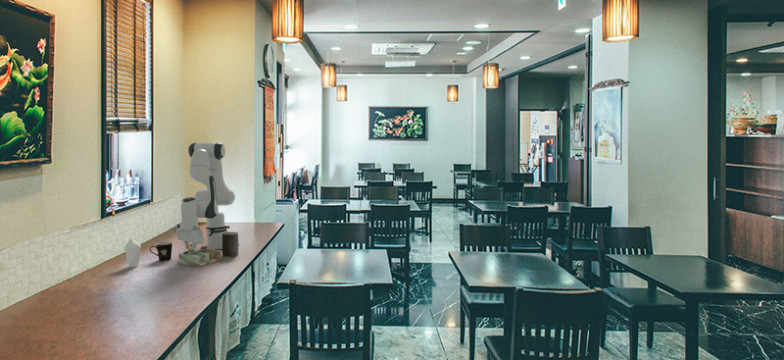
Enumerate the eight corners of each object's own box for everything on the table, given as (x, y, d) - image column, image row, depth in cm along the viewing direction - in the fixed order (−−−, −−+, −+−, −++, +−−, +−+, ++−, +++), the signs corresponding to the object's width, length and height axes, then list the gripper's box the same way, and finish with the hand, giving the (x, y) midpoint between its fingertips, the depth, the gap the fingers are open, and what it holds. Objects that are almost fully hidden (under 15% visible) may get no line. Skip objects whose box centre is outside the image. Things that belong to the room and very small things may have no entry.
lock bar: (204, 248, 280) (204, 240, 280) (208, 249, 279) (208, 241, 278) (187, 253, 270) (186, 244, 269) (191, 254, 268) (190, 245, 268)
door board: (204, 256, 286) (204, 245, 285) (221, 260, 277) (221, 249, 277) (179, 262, 271) (178, 251, 271) (196, 266, 263) (196, 255, 262)
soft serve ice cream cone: (145, 265, 265) (144, 237, 263) (132, 269, 257) (131, 240, 256) (134, 263, 268) (132, 236, 266) (121, 267, 260) (120, 239, 258)
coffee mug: (175, 258, 281) (175, 241, 280) (167, 261, 272) (167, 245, 271) (157, 257, 282) (157, 241, 281) (149, 261, 274) (148, 244, 273)
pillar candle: (223, 257, 284) (223, 233, 282) (221, 253, 292) (220, 230, 291) (239, 255, 288) (239, 232, 287) (237, 252, 297) (237, 229, 295)
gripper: (206, 226, 266) (206, 250, 268) (183, 223, 277) (184, 245, 278) (196, 228, 261) (197, 252, 262) (174, 224, 272) (175, 247, 273)
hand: (190, 249), depth 270 cm, fingers open, 4 cm apart
